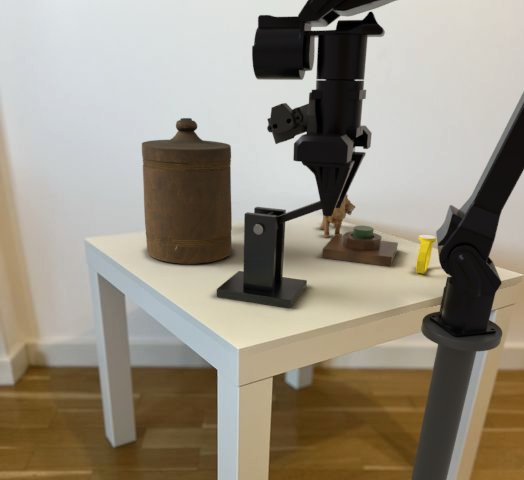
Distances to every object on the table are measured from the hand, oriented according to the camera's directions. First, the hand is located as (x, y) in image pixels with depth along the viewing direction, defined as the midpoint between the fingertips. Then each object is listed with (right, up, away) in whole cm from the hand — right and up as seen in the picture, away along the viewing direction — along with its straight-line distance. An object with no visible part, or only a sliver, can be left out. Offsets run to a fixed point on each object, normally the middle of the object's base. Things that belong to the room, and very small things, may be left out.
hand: (331, 211), depth 72 cm
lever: (-4, -1, +2) cm, 5 cm away
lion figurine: (+5, +6, +40) cm, 41 cm away
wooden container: (-22, -1, +25) cm, 34 cm away
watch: (+18, -5, +19) cm, 27 cm away
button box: (+9, -1, +27) cm, 28 cm away
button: (+9, +2, +26) cm, 27 cm away
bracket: (-9, -10, +8) cm, 16 cm away
